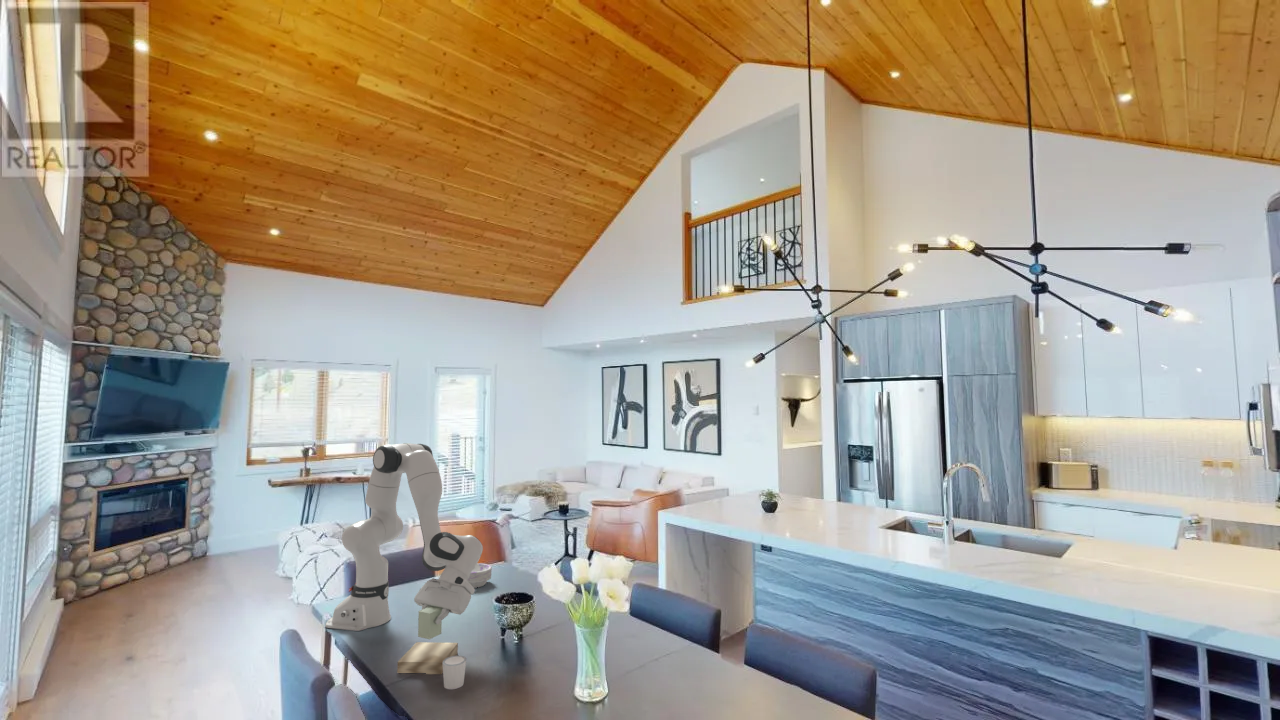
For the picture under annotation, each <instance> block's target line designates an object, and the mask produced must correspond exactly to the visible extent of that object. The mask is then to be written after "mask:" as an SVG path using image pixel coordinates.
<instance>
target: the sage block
mask: <svg viewBox="0 0 1280 720" xmlns="http://www.w3.org/2000/svg"><path fill="white" fill-rule="evenodd" d="M441 611H442V608H438V607H433V606H429V607H427V608H425V609H422V608H421V609H420V610H418V624H417V625H418V626H417V637H419V638H422V639H426V640H431V639H433V638H435V637H437V636H439V635H442V627H443V625H442V624H443V623H442V621H441V622H440V624H439V625H437V624H435V623H434V622H433V621H434V619H435V617H438V616H439V615H440V614H441V613H442V612H441Z"/></svg>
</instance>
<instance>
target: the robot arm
mask: <svg viewBox="0 0 1280 720" xmlns="http://www.w3.org/2000/svg"><path fill="white" fill-rule="evenodd" d="M372 465H373V467H372V470H371V474H370V477H369V480H368V486H367V490H366V494H365V501H364V502H365V504H366V506H367V507H368V508H370V511H371V514H370V517H369V518H367V519H362V520H359V521H356V522H354V523H352V524H350V525H349V526H347V527H346V528H344V530H343V532H342V533H341V534H342V536H341V542H342V545H343V547H344V548H345V549H346V550H347V552H349V553H351V554H352V556H353V559H354V562H355V583H354V585H352V586H351V587H350V588H349V589H348V592H349V593H350V595H348V596H347V597H346V598H344V599H343V600H342V601H341V602H339V603H338V604H337V605H336V607H335V608H334V610H333V613H332V617H330V618H328V620H327V621H326V622H325V628H327V629H336V630H344V631H356V632H358V631H363V630H366V629H370V628H375V627H378V626H382V625H385V624H386V623H388V622H389V621H390V620H391V619H392V615H391V612H390V607H389V598H388V597H389V590H390V587H389V586H390V585H389V583H390V581H389V580H388V579H389V575H388V574H389V573H388V572H389V561H388V559H387V558H386V557H384V556H383V555H381V552H380V546H381V545H384V544H388V543H389V542H392V541H393V540H395V539H396V538H398V537H400V535H401V534H402V532H403V529H404V522H403V520H402V518H401V517H400V516H399V515H398V513H397V500H398V495H399V490H400V485H401V479H402V476H403V474H406V478H407V484H408V488H409V491H410V494H411V497H412V500H413V503H414V506H415V508H416V512H417V515H418V520H419V525H420V530H421V535H422V541H423V550H422V554H421V561H422V564H423V565H424V567H425V568H426V569H427V570H430V571H432V572H439V571H442V570H443V571H442V573H441V574H440V575H439V577H438V578H434V577H433V578H431V579H429V580H426V582H425V583H424V584H423V585H422V586H421V588H420V589H419V590H418V591H417V593H416V594H415V596H414V600H413V601H414V603H415V604H417V606H420V607H421V610H422V609H425V608H427V607H429V606H433V607H438V608H442V611H441V612H442V613H441V614H440V615H439V616H438V617H435V619H434V621H433V622H434V623H435V624H437V625H439V624H440V622H441V621H442V620H444V619H446V618H447V617H448V616H449V614H455V615H459V616H460V615H462V614H464V612H465V611H466V609H467V608H468V606H469V604H470V602H471V599H472V595H474V593H475V590H476V588H473V586H472V585H471V584H470V583H469V582H468V579H469V575H470V573H471V572H472V570H473V569H474V568H475V566H476V565H477V563H479V560H480V559H481V556H482V555H483V554H482V553H483V550H484V548H483V547H484V546H483V544H482V542H481V541H480V540H479V538H477V537H476V536H474V535H472V534H467V535H458V534H457V535H456V534H454V533H450V532H447V531H441V527H440V522H439V513H438V512H439V507H440V502H441V498H442V494H443V482H442V478H441V477H442V476H441V473H440V470H439V468H438V465H437V463H436V460H435V459H434V456H433V451H432V449H431V447H430V446H428V445H427V444H423V443H411V442H410V443H407V442H404V443H395V444H389V443H388V444H383V445H380V446H379V447H377V448H376V450H375V451H374V453H373V456H372Z"/></svg>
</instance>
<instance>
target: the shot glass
mask: <svg viewBox="0 0 1280 720" xmlns="http://www.w3.org/2000/svg"><path fill="white" fill-rule="evenodd" d="M466 665H467V657H466V656H464V655H458V654H457V655H456V656H451V657H448V658H446V659H444V660H443V674H442V676H443V687H444V689H447V690H455V689H456V690H457V689H459V688H461V687H463V686H464V683H465V675H466V674H465V673H466Z"/></svg>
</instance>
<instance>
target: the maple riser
mask: <svg viewBox="0 0 1280 720" xmlns="http://www.w3.org/2000/svg"><path fill="white" fill-rule="evenodd" d="M458 649H459V642H434V641H433V642H432V641H431V642H426V641H425V642H423V641H422V642H421V641H420V642H417V641H416V642H415V643H414V644H413V645H412V646H411V648H410V649H408V650H407V651H406V652H405V653H404V655H403V656H401V658H399V660H398V661H397V666H396V667H397V669H396V671H397V672H396V674H397V673H426V674H425V675H443V674H442V673H443V660H444V659H446V658H448V657H451V656H457V655H458V653H459V651H458Z"/></svg>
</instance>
